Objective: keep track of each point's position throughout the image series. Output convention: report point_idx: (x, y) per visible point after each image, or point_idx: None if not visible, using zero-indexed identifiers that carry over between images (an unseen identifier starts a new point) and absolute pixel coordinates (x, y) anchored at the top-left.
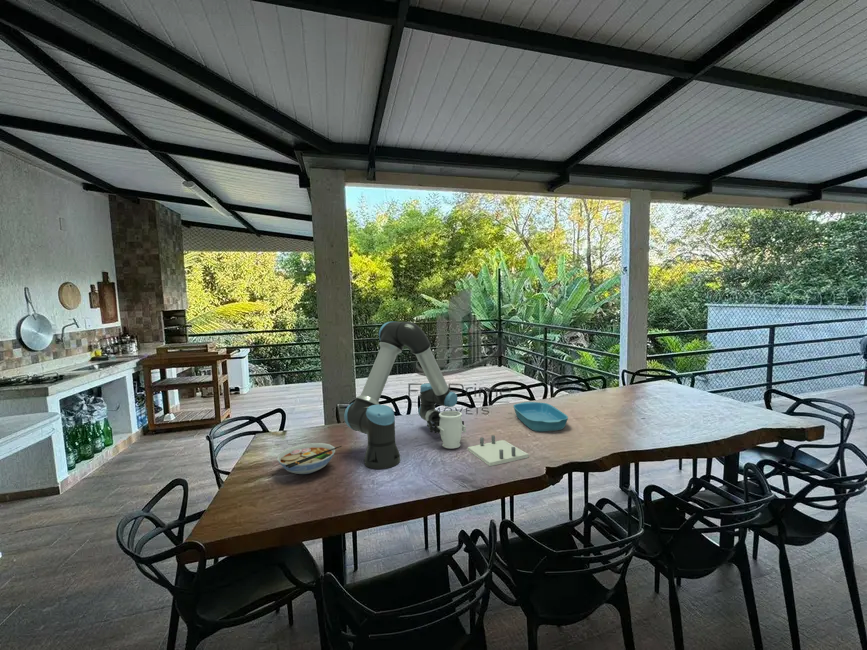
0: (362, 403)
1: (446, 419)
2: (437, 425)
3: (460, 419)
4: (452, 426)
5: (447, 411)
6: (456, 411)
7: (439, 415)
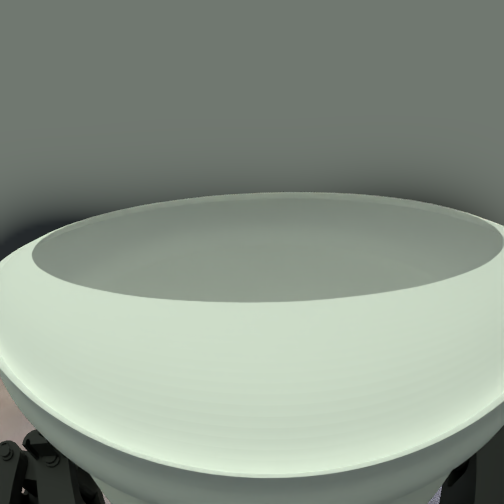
0: None
1: (362, 233)
2: (467, 501)
3: (165, 266)
4: (296, 296)
5: (127, 456)
6: (29, 244)
7: (484, 229)
